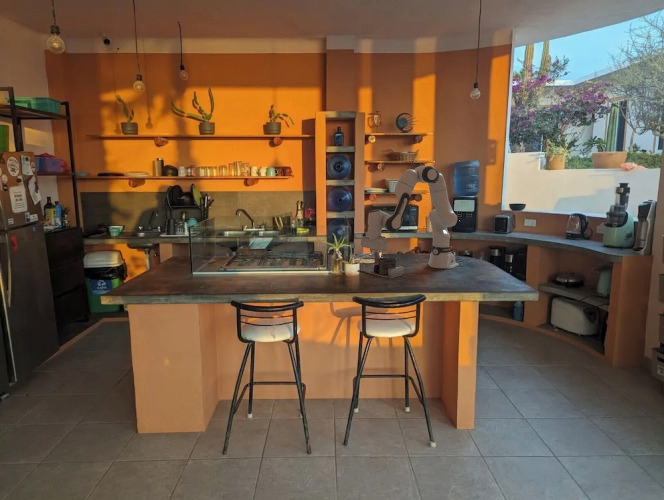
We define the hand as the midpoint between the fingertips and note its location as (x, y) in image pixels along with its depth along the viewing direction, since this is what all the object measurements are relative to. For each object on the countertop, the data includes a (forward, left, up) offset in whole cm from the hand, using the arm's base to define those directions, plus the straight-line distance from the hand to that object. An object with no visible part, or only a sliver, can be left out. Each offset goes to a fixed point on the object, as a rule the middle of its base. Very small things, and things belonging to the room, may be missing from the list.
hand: (373, 255), depth 288 cm
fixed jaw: (0, +7, -10) cm, 12 cm away
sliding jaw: (0, +4, -10) cm, 10 cm away
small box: (0, +11, -10) cm, 15 cm away
